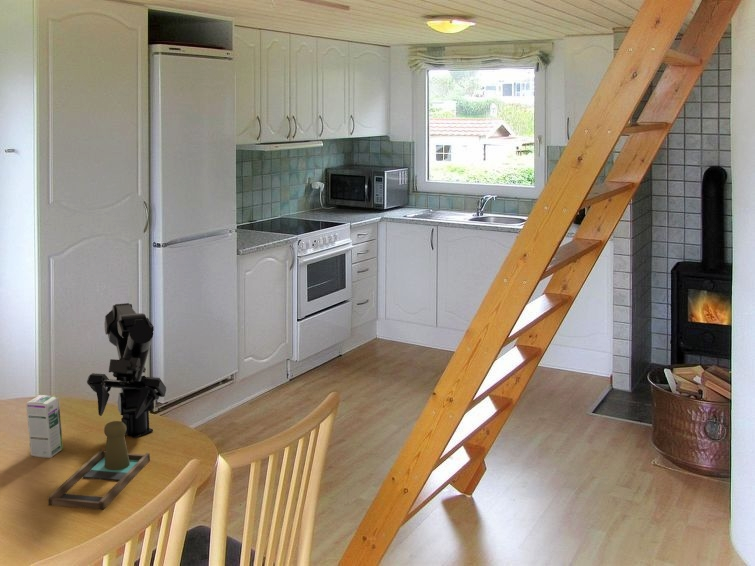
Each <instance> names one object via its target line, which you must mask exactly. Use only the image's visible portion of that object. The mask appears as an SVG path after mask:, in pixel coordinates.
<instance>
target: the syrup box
mask: <svg viewBox="0 0 755 566" xmlns="http://www.w3.org/2000/svg"><path fill="white" fill-rule="evenodd" d="M25 405H26V416H27V427H28V428H27V429H28V435H29V436H28V437H29V448H30V455H31V457H36V458H37V457H38V458H47V459H48V458H49V459H51V458H53V456H55V455H57V454H58V453H59V452H60V451H62V450H64V445H63V432H62V420H61V412H60V411H61V410H60V397H59V396H56V395H49V394H38V395H37V396H36V397H34V398H32V399H31V400H29V401H27V402H26V404H25Z"/></svg>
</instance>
